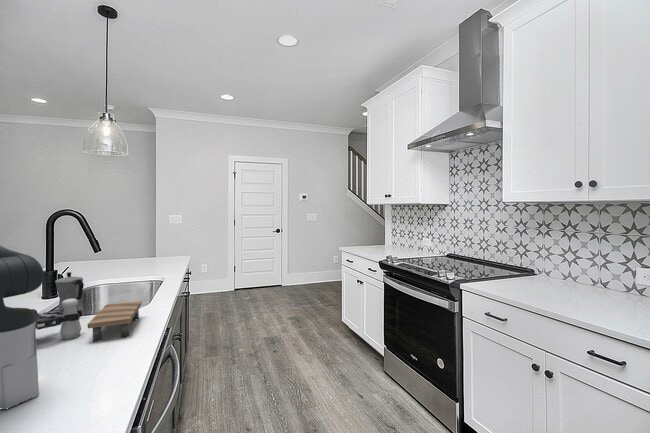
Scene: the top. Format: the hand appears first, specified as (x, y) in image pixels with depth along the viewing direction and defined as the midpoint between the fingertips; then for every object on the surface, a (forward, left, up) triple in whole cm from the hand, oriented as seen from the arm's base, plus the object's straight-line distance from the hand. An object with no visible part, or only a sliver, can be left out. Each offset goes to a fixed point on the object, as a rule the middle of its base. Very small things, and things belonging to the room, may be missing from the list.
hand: (80, 314), depth 113 cm
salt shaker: (+2, +2, -7) cm, 8 cm away
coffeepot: (+25, -11, -7) cm, 28 cm away
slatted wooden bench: (-6, -9, -7) cm, 13 cm away
